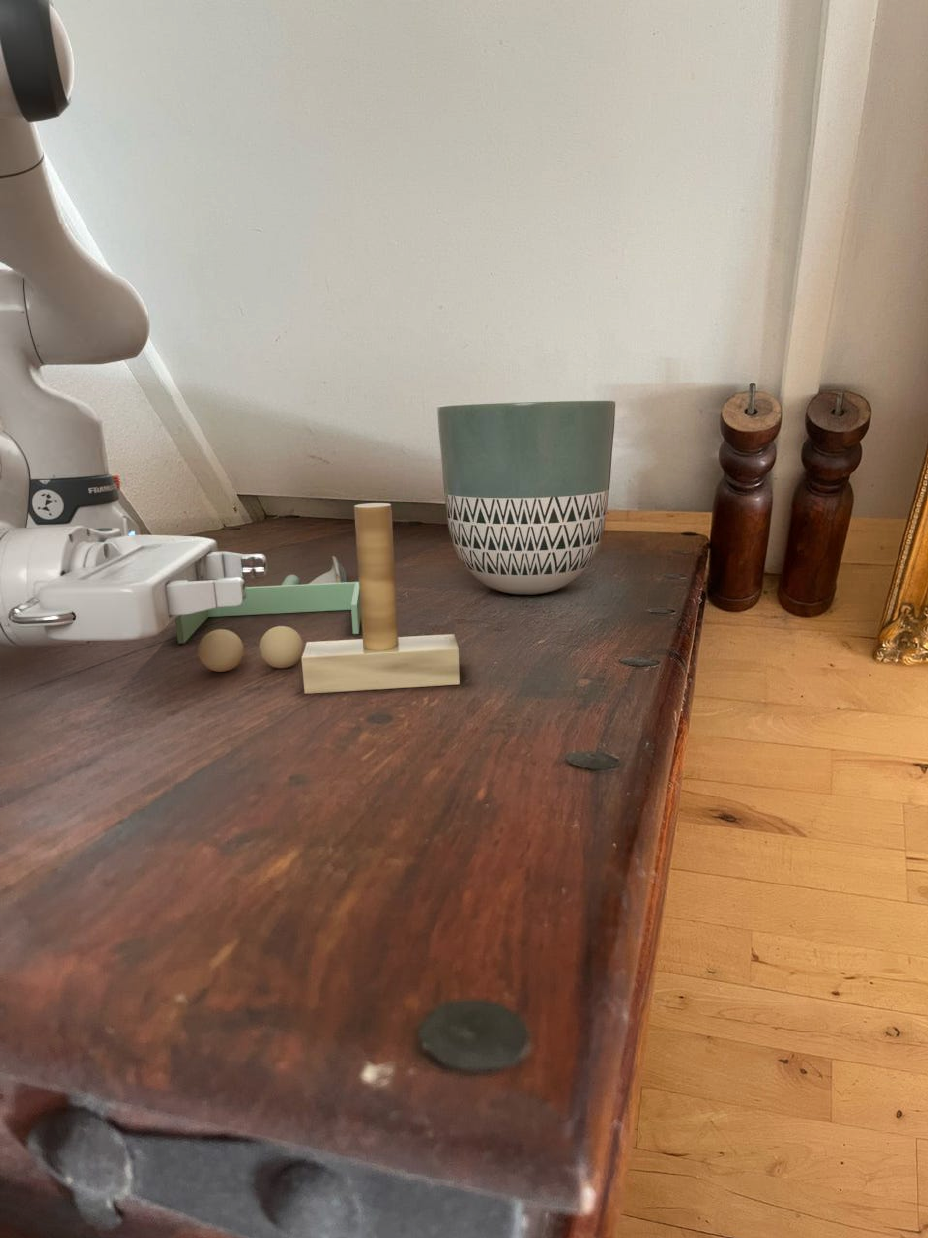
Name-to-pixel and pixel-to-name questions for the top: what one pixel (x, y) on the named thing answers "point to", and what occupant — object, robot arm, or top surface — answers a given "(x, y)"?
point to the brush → (379, 628)
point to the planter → (526, 489)
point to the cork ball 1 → (220, 650)
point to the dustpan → (282, 603)
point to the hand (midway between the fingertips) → (255, 577)
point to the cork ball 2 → (281, 647)
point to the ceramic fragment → (332, 574)
